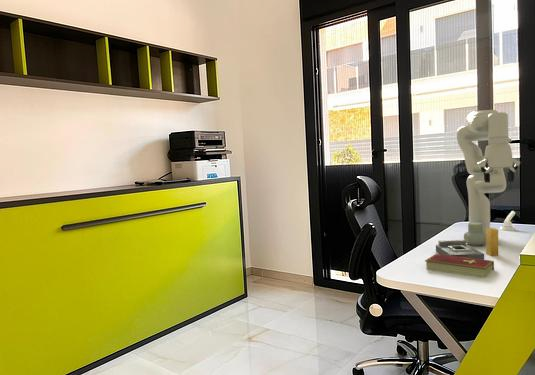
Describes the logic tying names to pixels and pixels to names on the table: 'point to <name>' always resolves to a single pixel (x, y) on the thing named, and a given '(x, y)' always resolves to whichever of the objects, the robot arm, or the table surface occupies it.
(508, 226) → the hook
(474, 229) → the air freshener
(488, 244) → the brass peg in socket
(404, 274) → the table surface
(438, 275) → the table surface
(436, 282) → the table surface
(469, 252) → the grey box with slot
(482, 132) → the robot arm
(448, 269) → the hardcover book
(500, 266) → the table surface
